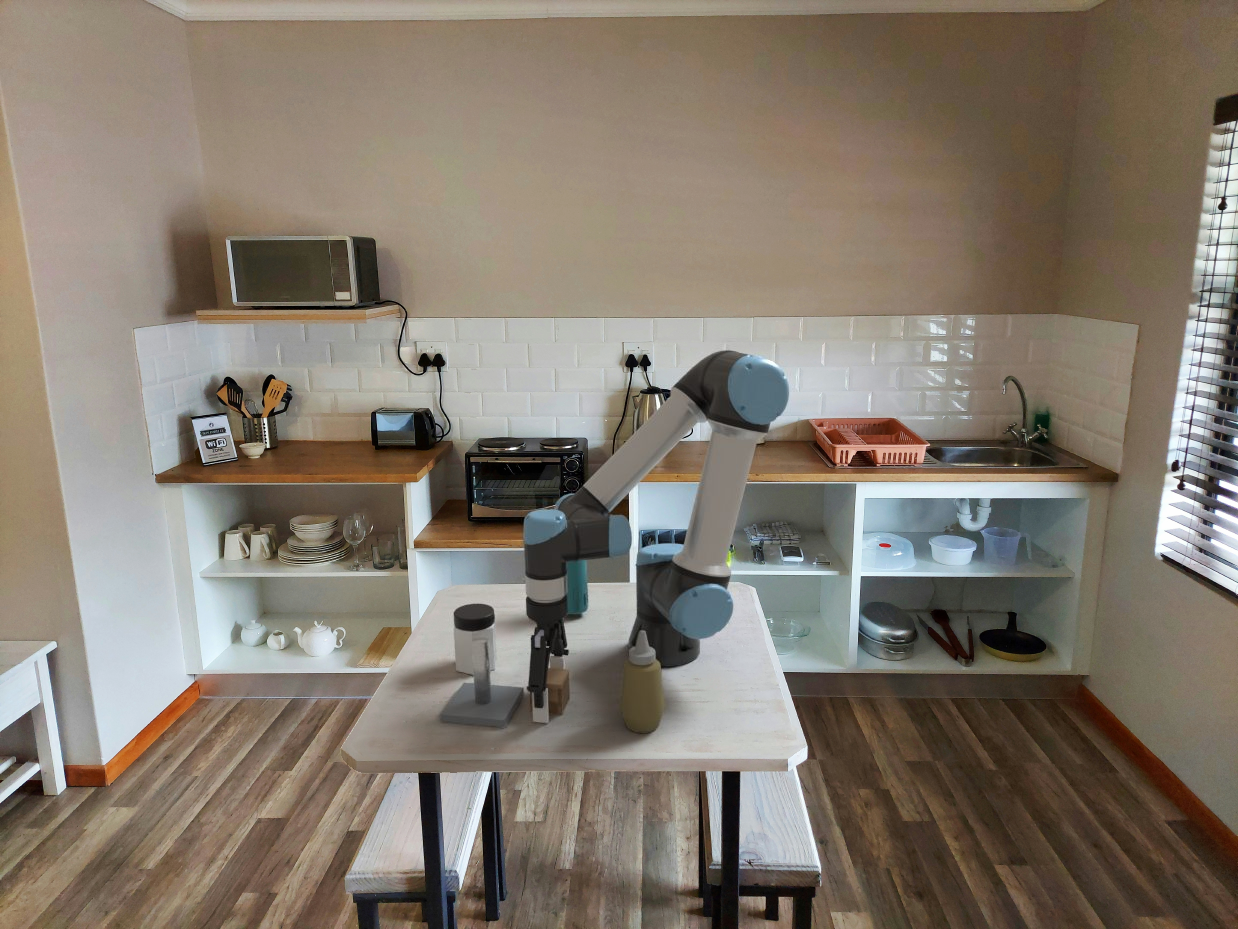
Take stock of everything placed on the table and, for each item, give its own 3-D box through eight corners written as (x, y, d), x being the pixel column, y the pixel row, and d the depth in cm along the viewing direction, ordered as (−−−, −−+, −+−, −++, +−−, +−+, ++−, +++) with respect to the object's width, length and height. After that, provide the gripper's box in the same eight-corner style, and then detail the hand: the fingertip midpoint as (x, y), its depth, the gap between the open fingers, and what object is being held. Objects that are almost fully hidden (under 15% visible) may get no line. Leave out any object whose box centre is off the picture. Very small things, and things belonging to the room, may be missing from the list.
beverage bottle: (588, 620, 198) (586, 537, 193) (559, 620, 198) (556, 537, 193) (589, 609, 204) (587, 528, 199) (561, 609, 204) (559, 528, 199)
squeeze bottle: (650, 742, 148) (650, 645, 144) (611, 729, 152) (610, 635, 148) (673, 721, 155) (673, 628, 151) (634, 709, 159) (634, 618, 155)
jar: (464, 679, 171) (461, 623, 168) (448, 663, 177) (445, 609, 174) (505, 667, 176) (503, 612, 173) (488, 652, 182) (485, 599, 179)
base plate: (523, 694, 165) (523, 687, 164) (504, 727, 153) (504, 720, 153) (464, 689, 167) (463, 682, 166) (440, 721, 155) (440, 714, 155)
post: (493, 697, 161) (490, 637, 158) (488, 705, 158) (485, 645, 155) (478, 695, 161) (475, 636, 158) (472, 703, 158) (469, 643, 156)
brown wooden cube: (569, 698, 163) (569, 669, 162) (562, 714, 157) (561, 685, 156) (539, 696, 164) (538, 667, 163) (530, 712, 158) (529, 682, 157)
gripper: (543, 570, 168) (546, 672, 173) (506, 621, 145) (511, 736, 150) (581, 572, 166) (583, 675, 171) (549, 624, 143) (552, 740, 148)
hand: (549, 704), depth 161 cm, fingers open, 12 cm apart
